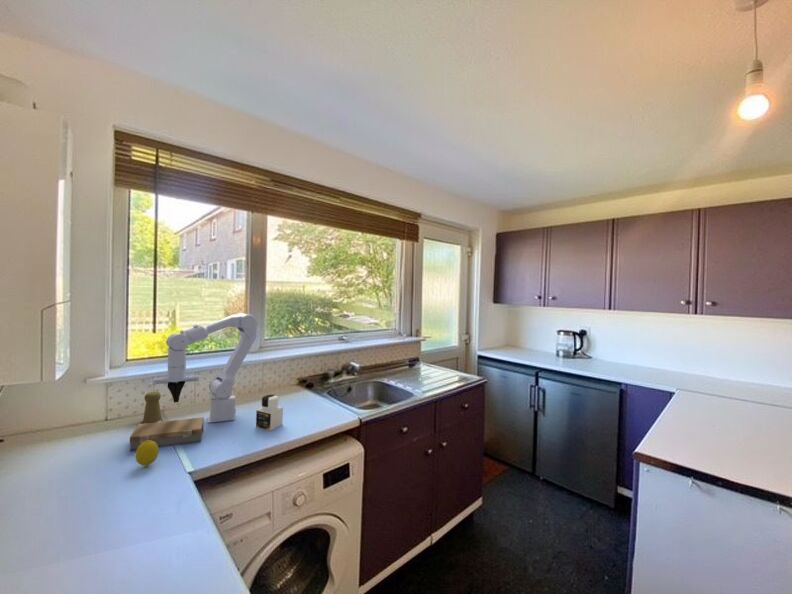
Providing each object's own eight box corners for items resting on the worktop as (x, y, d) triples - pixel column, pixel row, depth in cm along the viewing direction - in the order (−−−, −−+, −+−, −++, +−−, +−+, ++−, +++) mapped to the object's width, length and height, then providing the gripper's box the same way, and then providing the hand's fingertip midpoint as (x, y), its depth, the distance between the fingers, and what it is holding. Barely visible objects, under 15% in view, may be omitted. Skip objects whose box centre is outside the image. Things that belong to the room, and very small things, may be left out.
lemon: (133, 472, 98) (134, 445, 98) (137, 463, 103) (138, 437, 103) (156, 468, 101) (157, 442, 100) (159, 459, 106) (160, 434, 105)
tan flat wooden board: (203, 422, 127) (203, 417, 127) (200, 435, 117) (200, 429, 117) (138, 429, 119) (138, 424, 119) (129, 444, 109) (129, 438, 109)
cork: (165, 417, 136) (165, 390, 136) (153, 423, 130) (153, 395, 130) (151, 416, 137) (151, 389, 137) (138, 422, 131) (139, 394, 131)
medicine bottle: (255, 427, 131) (256, 397, 131) (268, 421, 138) (269, 392, 137) (269, 431, 129) (270, 400, 128) (282, 424, 135) (283, 395, 135)
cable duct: (203, 429, 127) (203, 422, 127) (200, 441, 118) (200, 433, 118) (138, 437, 119) (138, 429, 119) (129, 451, 110) (130, 442, 110)
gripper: (151, 369, 120) (150, 407, 120) (198, 367, 126) (197, 402, 127) (155, 365, 126) (154, 400, 127) (199, 362, 132) (199, 396, 133)
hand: (176, 401), depth 127 cm, fingers closed
